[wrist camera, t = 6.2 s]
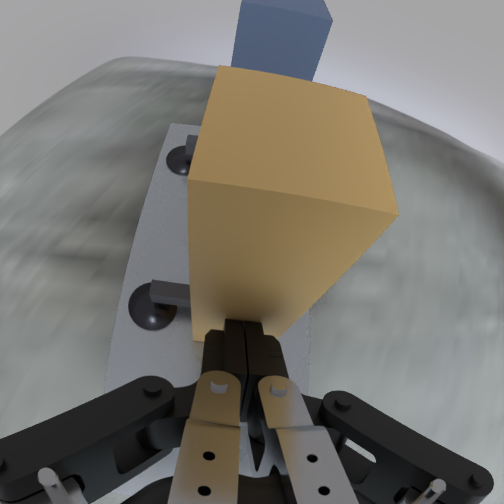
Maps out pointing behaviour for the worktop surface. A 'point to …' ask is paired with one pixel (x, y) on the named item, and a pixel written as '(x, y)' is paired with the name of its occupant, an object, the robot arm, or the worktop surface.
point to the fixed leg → (279, 39)
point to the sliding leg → (277, 199)
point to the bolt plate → (172, 316)
